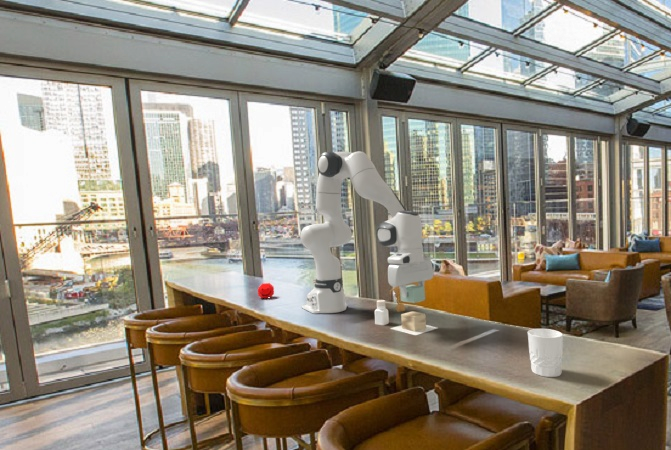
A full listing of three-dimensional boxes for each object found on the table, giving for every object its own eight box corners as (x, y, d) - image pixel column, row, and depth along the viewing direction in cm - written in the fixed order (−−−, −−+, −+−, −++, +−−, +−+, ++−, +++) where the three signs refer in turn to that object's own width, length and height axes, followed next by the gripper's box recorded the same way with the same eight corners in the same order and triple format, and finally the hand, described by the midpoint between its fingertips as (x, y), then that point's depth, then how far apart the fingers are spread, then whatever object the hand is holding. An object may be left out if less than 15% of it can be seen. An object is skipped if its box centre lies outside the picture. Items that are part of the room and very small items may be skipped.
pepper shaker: (383, 328, 149) (382, 302, 149) (374, 326, 152) (373, 301, 151) (389, 325, 152) (388, 300, 152) (380, 324, 155) (379, 299, 154)
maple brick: (401, 328, 144) (401, 314, 144) (413, 324, 148) (412, 311, 147) (414, 331, 139) (414, 317, 139) (426, 327, 143) (425, 313, 143)
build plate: (389, 331, 144) (389, 328, 144) (412, 324, 152) (412, 321, 152) (415, 338, 135) (415, 335, 135) (438, 330, 142) (438, 327, 142)
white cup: (555, 365, 106) (553, 328, 106) (570, 378, 98) (568, 337, 98) (524, 366, 107) (522, 329, 106) (536, 378, 99) (535, 338, 99)
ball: (258, 300, 213) (257, 285, 213) (259, 297, 221) (258, 283, 221) (273, 299, 213) (272, 284, 213) (274, 296, 221) (273, 282, 221)
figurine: (411, 313, 169) (410, 284, 168) (404, 316, 164) (402, 286, 164) (395, 310, 174) (393, 283, 174) (387, 313, 170) (385, 285, 169)
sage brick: (400, 300, 144) (400, 286, 143) (412, 298, 147) (411, 284, 147) (413, 303, 139) (413, 288, 139) (425, 300, 142) (424, 286, 142)
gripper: (422, 253, 152) (424, 290, 152) (383, 259, 139) (386, 299, 139) (436, 253, 147) (438, 291, 147) (397, 259, 134) (399, 301, 134)
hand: (412, 295), depth 143 cm, fingers closed on sage brick, 6 cm apart
